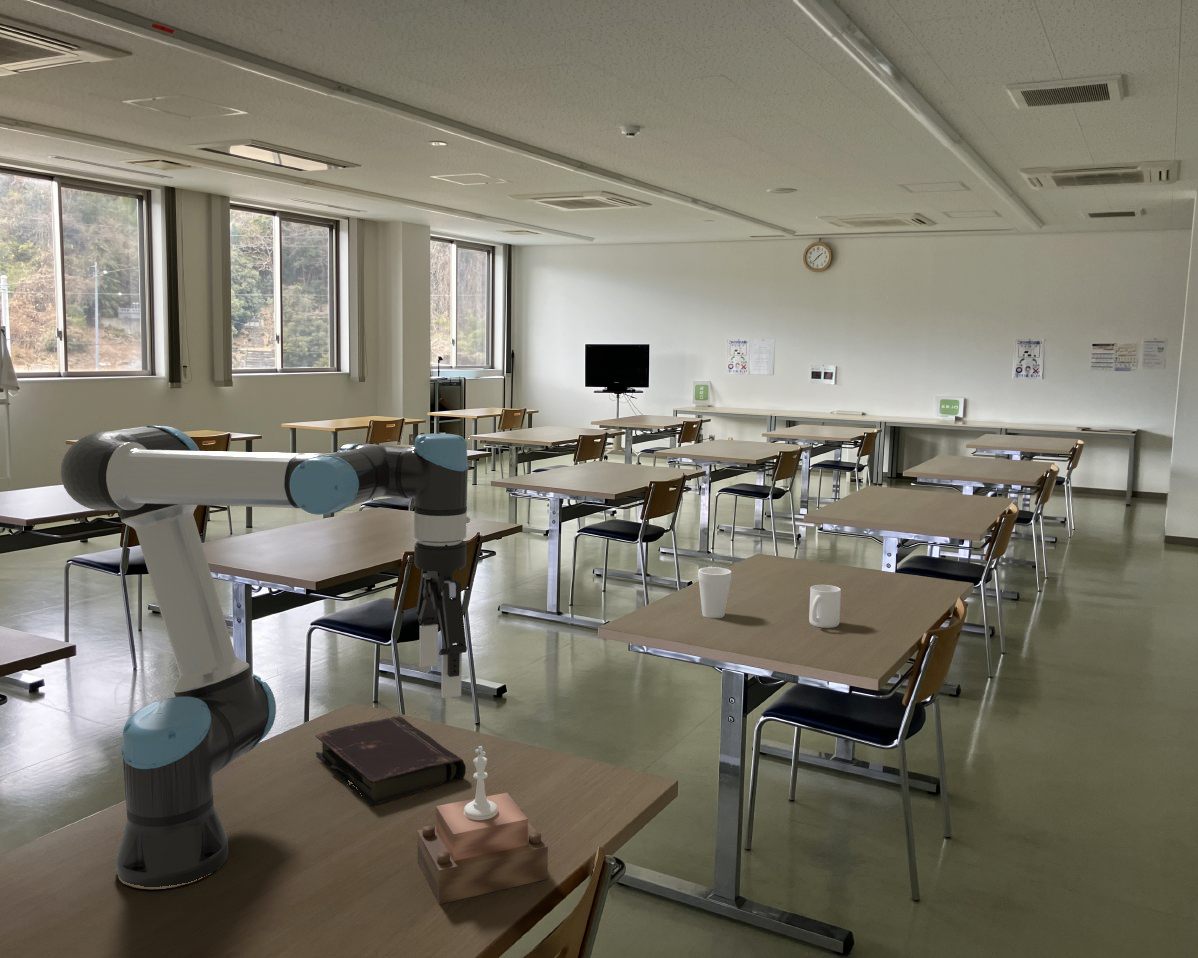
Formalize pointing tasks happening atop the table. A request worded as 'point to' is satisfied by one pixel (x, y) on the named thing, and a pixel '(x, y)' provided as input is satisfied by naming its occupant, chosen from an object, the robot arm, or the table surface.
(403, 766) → the diary
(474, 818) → the chess piece
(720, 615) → the foam cup
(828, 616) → the mug
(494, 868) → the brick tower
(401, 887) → the table surface
